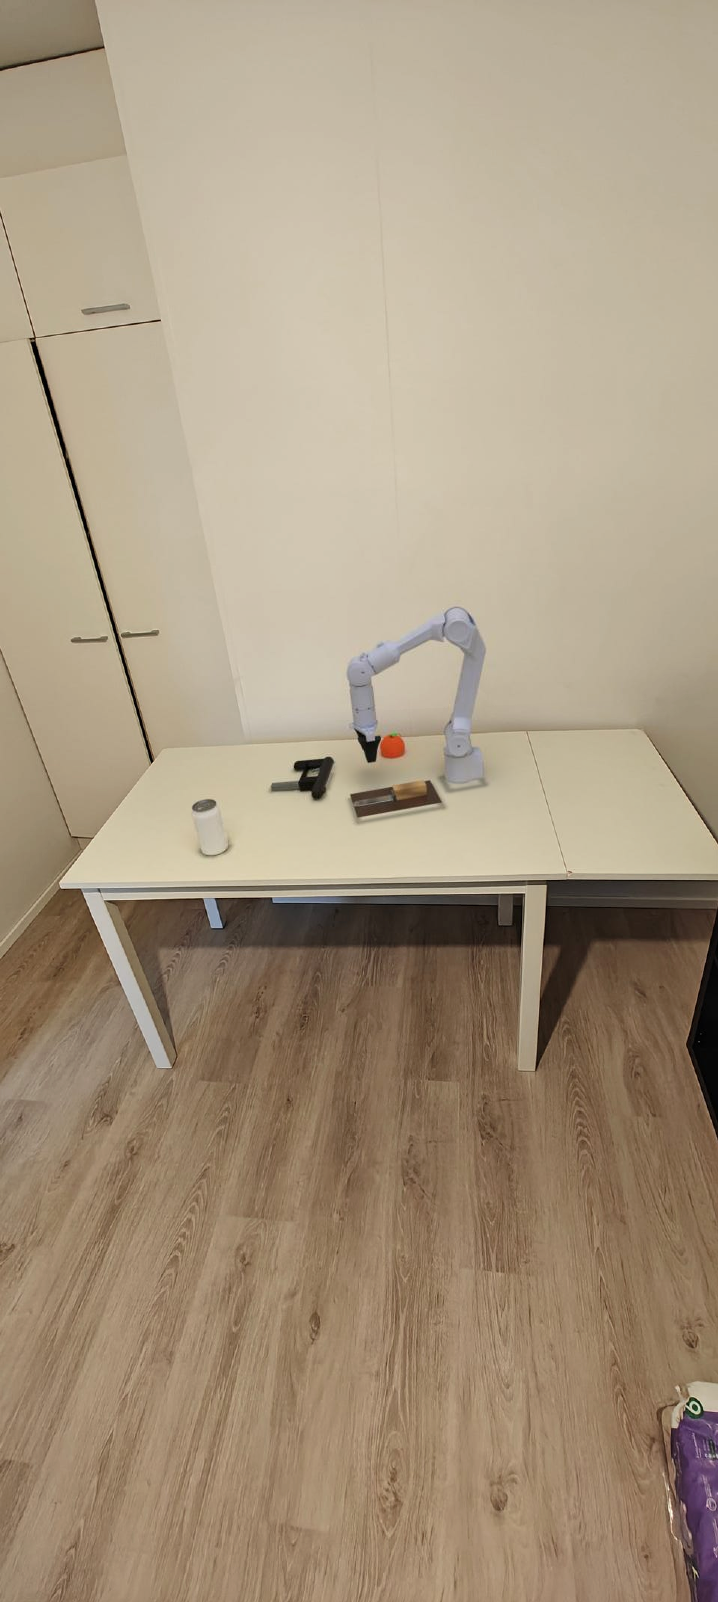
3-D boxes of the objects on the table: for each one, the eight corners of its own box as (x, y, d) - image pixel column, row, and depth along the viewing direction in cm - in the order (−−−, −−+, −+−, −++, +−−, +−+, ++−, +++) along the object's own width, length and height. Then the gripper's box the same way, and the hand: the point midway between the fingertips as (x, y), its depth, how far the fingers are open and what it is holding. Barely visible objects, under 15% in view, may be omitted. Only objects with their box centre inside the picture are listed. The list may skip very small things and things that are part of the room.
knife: (424, 790, 178) (423, 779, 177) (427, 795, 176) (426, 784, 174) (352, 802, 177) (351, 792, 175) (354, 808, 174) (353, 797, 173)
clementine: (392, 749, 204) (389, 726, 200) (412, 753, 200) (410, 730, 196) (376, 760, 198) (373, 737, 195) (397, 765, 195) (394, 742, 191)
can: (203, 843, 171) (191, 800, 165) (229, 839, 171) (219, 796, 165) (200, 858, 165) (188, 814, 159) (227, 854, 165) (216, 810, 159)
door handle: (264, 794, 184) (324, 789, 180) (282, 759, 201) (337, 753, 197) (267, 805, 185) (327, 800, 182) (284, 769, 202) (339, 764, 199)
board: (430, 785, 183) (430, 779, 183) (442, 807, 173) (442, 802, 172) (350, 799, 181) (349, 794, 181) (358, 822, 171) (357, 817, 170)
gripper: (343, 698, 180) (349, 746, 187) (351, 719, 167) (358, 770, 174) (370, 693, 180) (375, 741, 187) (381, 715, 168) (386, 765, 175)
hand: (368, 755), depth 181 cm, fingers open, 7 cm apart
